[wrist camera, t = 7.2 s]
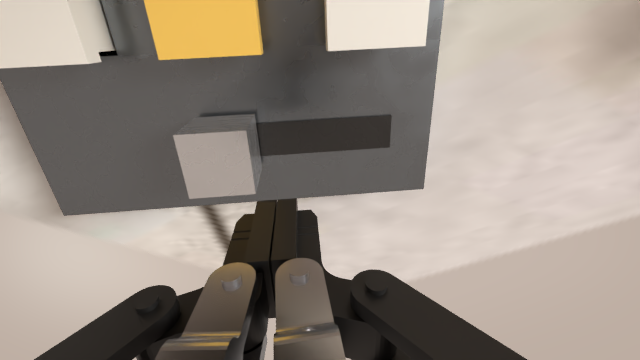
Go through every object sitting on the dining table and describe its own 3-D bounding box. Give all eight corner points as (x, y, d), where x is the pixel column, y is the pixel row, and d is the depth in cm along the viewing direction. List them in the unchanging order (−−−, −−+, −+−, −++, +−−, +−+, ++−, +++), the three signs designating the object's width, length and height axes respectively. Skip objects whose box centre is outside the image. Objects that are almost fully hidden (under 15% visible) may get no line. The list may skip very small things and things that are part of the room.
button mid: (170, -41, 19) (126, -67, 14) (259, -44, 19) (246, -71, 14) (190, 54, 21) (158, 60, 16) (269, 50, 22) (261, 54, 17)
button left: (18, -35, 19) (-83, -61, 14) (110, -39, 19) (44, -65, 14) (55, 61, 21) (-20, 69, 16) (137, 56, 21) (88, 63, 16)
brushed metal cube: (194, 117, 21) (173, 135, 17) (254, 113, 21) (246, 130, 17) (206, 172, 22) (189, 198, 19) (262, 168, 23) (255, 194, 19)
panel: (-8, -61, 20) (-81, -85, 16) (427, -76, 21) (457, -101, 17) (94, 191, 27) (62, 216, 23) (407, 169, 29) (424, 189, 25)
